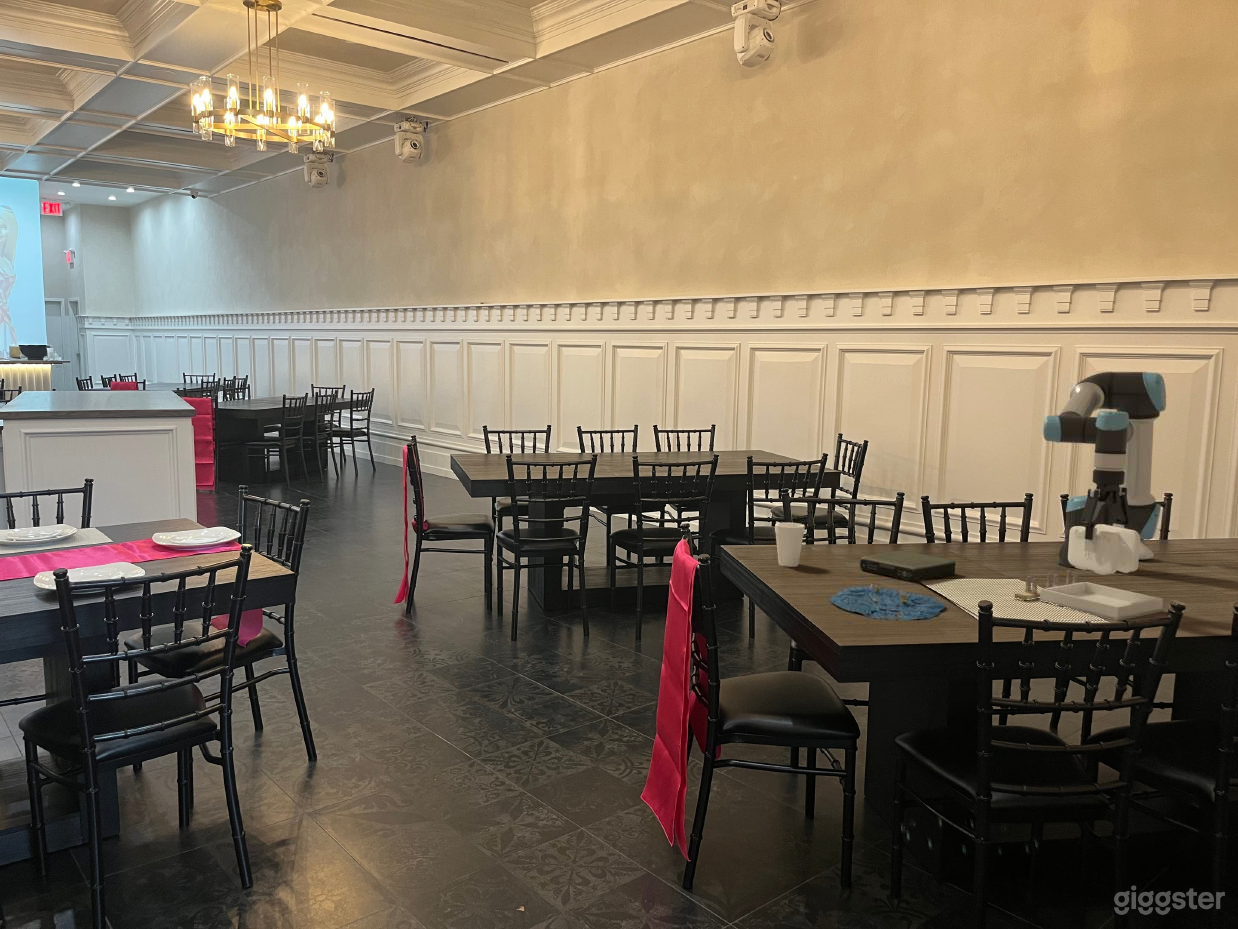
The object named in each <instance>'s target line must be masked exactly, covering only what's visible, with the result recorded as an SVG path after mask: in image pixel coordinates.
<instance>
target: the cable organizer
mask: <svg viewBox="0 0 1238 929" xmlns="http://www.w3.org/2000/svg"><path fill="white" fill-rule="evenodd" d="M1095 528H1097V538H1096V552H1095V553H1093V552H1087V551H1084V546H1085V527H1082V526H1074V527H1072V528H1071V529H1070V534H1069V549H1068V561H1069V562H1070V564H1072V565H1073V566H1075V567H1076V568H1075V569H1078V570H1079V569H1080V570H1083V571H1086V570H1089V571H1093V572H1094V574H1095V573H1096V574H1099V575H1103V576H1106V575H1112V574H1114V573H1115V574H1116V572H1117V571H1119V572H1121V573H1125V574H1128V573H1130V572H1135V571H1137V570H1138V568H1139V546H1140V540H1141V539H1140V535H1139V534H1138V532H1136V531H1134V530H1130V529H1125V528H1120V527H1115V526H1109V525H1104V524H1098V525H1096V526H1095Z"/></svg>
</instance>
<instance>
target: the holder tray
mask: <svg viewBox="0 0 1238 929" xmlns="http://www.w3.org/2000/svg"><path fill="white" fill-rule="evenodd" d="M1039 590H1040V599H1039V601H1040V600H1042V601H1048V602H1051V603H1053V604H1058V605H1060V606H1063V607H1068V608H1071V609H1074V610H1073V611H1075V610H1078V611H1077V612H1079V611H1082V612H1081V613H1083V612H1085V613H1084V614H1087V613H1089V614H1088V615H1091V616H1096V617H1100V618H1102V619H1103V618H1104V619H1107V620H1110V621H1111V620H1112V621H1115V622H1120V621H1123V620H1128V619H1133V618H1138V617H1142V616H1147V615H1148V616H1149V615H1152V614H1153V615H1154V614H1157V613H1161V612H1163V605H1164V604H1163V603H1164V598H1161V597H1156V596H1152V595H1147V594H1143V593H1138V592H1134V591H1129V590H1124V589H1120V588H1116V587H1110V586H1106V585H1102V584H1097V583H1094V582H1093V583H1092V582H1088V581H1081V582H1077V583H1075V584H1072V583H1071V584H1068V585H1065V584H1064V585H1063V584H1062V585H1058V586H1056V587H1053V586H1051V587H1050V588H1045V587H1044V588H1040V589H1039ZM1060 606H1059V607H1060ZM1063 607H1062V608H1063ZM1071 609H1070V610H1071Z"/></svg>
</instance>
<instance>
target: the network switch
mask: <svg viewBox="0 0 1238 929" xmlns="http://www.w3.org/2000/svg"><path fill="white" fill-rule="evenodd" d="M859 567H860V571H861V570H862V572H865V571H866V572H865V573H870V572H871V573H870V574H875V573H876V574H877V575H882V576H888V577H892V578H898V579H900V580H901V579H902V580H903V581H905V582H910V583H911V582H912V583H919V581H920V582H923V581H922V580H924V581H928V579H929V580H933V578H934V579H940V578H944V577H949V576H954V575H955V574H956V561H955V560H951V559H948V558H943V557H937V556H931V555H928V554H927V555H926V554H921V553H916V552H911V551H905V550H902V549H901V550H895V551H888V552H883V553H878V554H873V555H865V556H862V557H861V558H860V561H859Z"/></svg>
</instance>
